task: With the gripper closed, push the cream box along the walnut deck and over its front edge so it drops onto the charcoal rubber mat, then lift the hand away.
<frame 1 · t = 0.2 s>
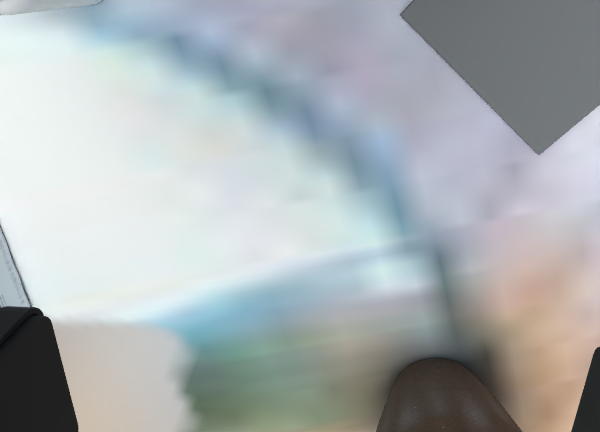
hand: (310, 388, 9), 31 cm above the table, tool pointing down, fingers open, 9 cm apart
plant pot: (436, 386, 48), on the table
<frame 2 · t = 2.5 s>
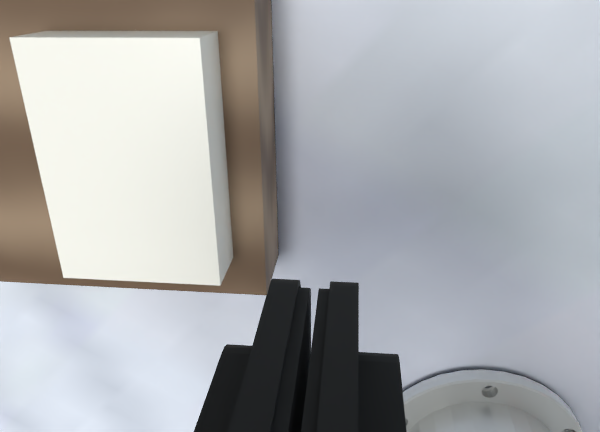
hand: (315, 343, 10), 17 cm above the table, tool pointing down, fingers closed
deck: (119, 127, 27), on the table
cream box: (147, 152, 23), point 4 cm above the table, touching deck
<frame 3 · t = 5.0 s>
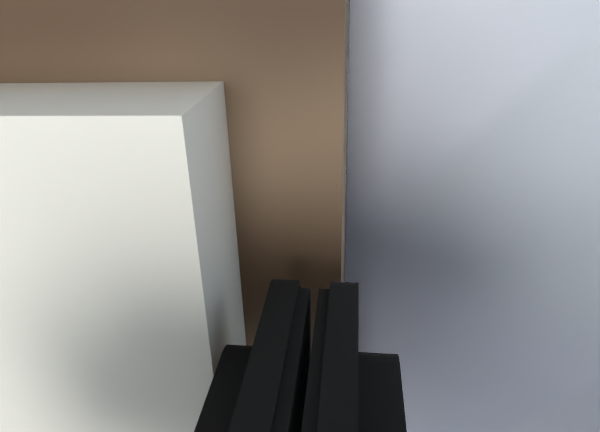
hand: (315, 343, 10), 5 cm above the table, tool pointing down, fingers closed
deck: (78, 224, 16), on the table
cream box: (92, 305, 12), point 4 cm above the table
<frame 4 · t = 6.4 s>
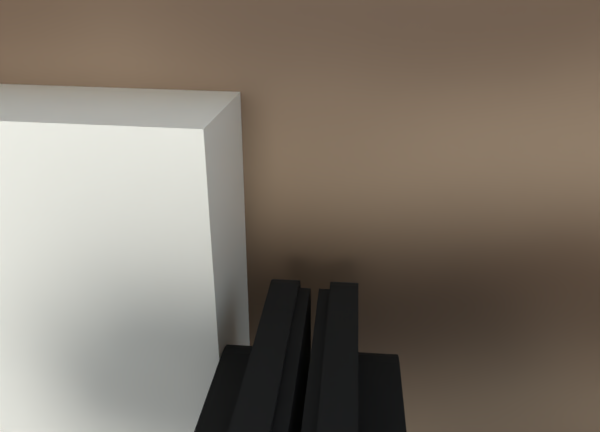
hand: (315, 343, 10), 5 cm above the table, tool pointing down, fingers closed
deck: (341, 231, 15), on the table
cream box: (98, 306, 12), point 4 cm above the table, touching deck, gripper
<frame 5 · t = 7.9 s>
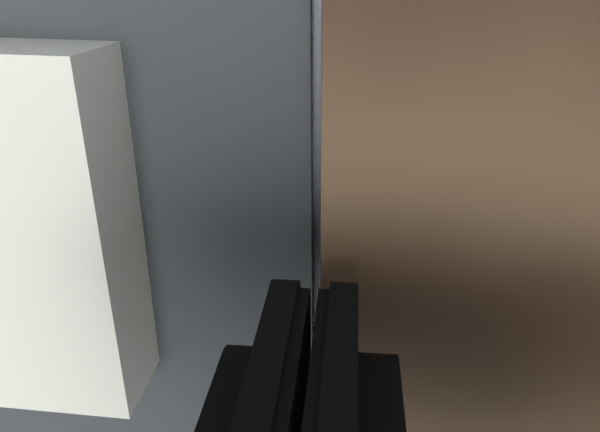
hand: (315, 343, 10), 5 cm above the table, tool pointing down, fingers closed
mat: (79, 220, 16), on the table
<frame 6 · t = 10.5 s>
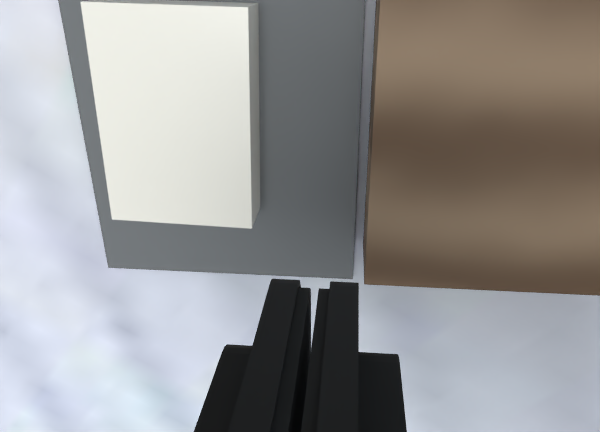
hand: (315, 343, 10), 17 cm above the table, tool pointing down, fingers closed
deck: (540, 120, 25), on the table
mat: (218, 114, 26), on the table
cream box: (173, 124, 24), point 3 cm above the table, tilted 180°, touching mat
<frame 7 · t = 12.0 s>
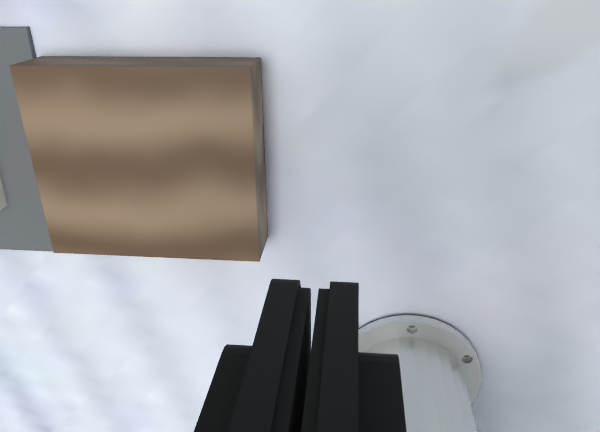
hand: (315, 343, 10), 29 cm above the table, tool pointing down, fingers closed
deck: (161, 151, 40), on the table
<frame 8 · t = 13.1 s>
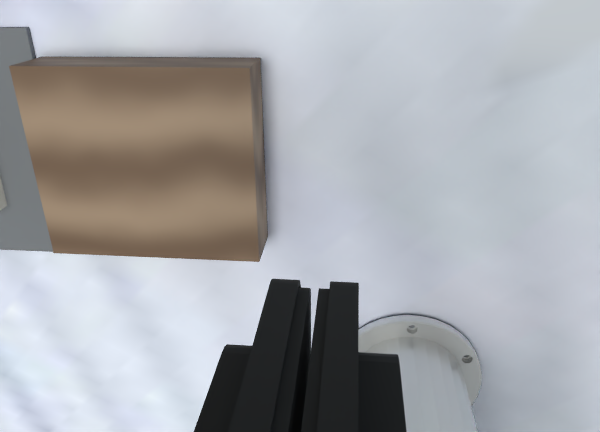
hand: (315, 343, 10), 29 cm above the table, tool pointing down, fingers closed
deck: (160, 151, 40), on the table
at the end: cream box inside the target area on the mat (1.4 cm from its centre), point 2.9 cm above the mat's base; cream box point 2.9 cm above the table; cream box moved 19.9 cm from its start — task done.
